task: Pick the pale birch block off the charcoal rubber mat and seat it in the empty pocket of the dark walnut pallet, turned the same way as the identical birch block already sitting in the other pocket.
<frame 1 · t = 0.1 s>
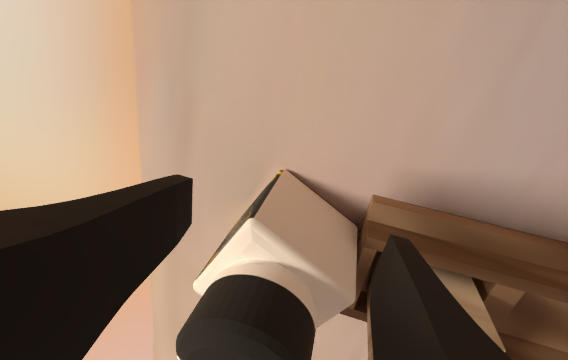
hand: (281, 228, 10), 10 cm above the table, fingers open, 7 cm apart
walnut pallet: (472, 283, 21), on the table
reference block: (413, 276, 20), resting on walnut pallet
medicine bottle: (293, 224, 23), on the table
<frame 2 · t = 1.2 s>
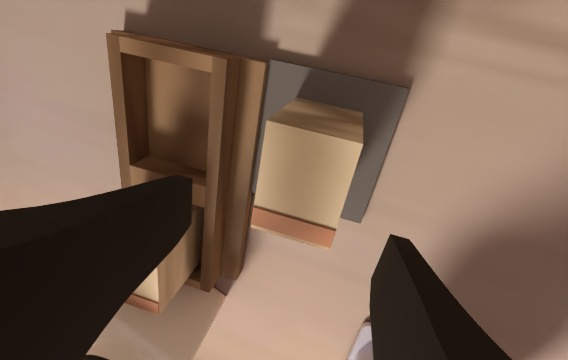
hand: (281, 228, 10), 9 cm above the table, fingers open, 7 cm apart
walnut pallet: (190, 169, 22), on the table
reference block: (182, 222, 23), resting on walnut pallet
charcoal mat: (319, 145, 18), on the table
birch block: (318, 148, 18), resting on charcoal mat
medicine bottle: (182, 289, 28), on the table
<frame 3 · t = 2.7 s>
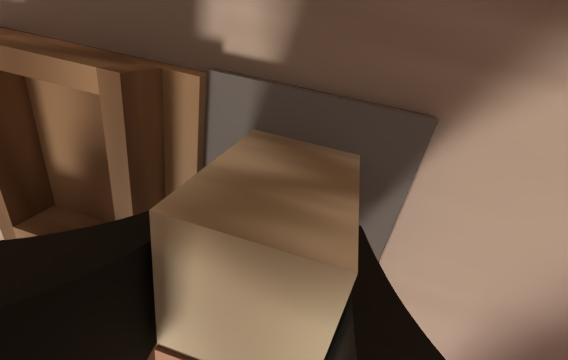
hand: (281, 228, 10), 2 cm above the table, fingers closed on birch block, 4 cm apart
walnut pallet: (118, 222, 15), on the table
charcoal mat: (294, 198, 12), on the table
birch block: (291, 204, 12), resting on charcoal mat, touching gripper
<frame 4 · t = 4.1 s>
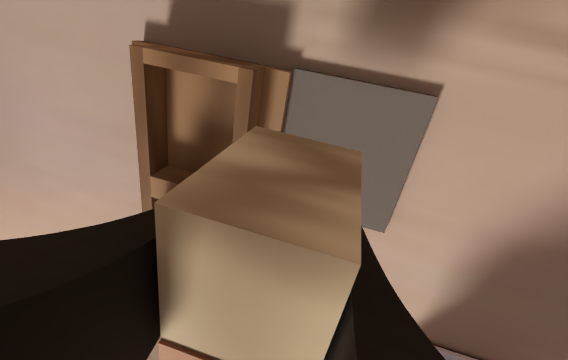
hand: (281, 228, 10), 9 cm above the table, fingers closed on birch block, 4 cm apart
walnut pallet: (209, 178, 21), on the table
charcoal mat: (342, 154, 18), on the table
birch block: (293, 201, 12), point 7 cm above the table, touching gripper
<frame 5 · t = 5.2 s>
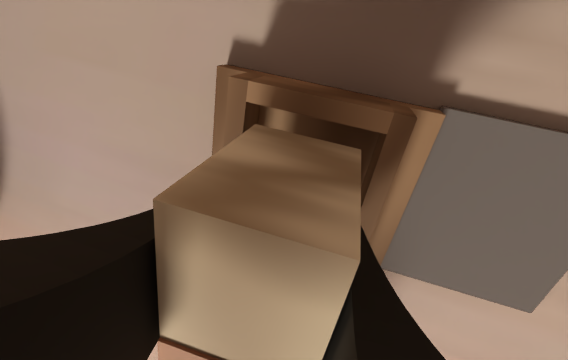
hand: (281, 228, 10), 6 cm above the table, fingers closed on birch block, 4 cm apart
walnut pallet: (293, 233, 17), on the table
charcoal mat: (488, 216, 14), on the table
birch block: (293, 199, 12), point 4 cm above the table, touching gripper
when the fingers open (4 cm above the table, at t = 5.9 s): birch block drops 1 cm, resting on walnut pallet.
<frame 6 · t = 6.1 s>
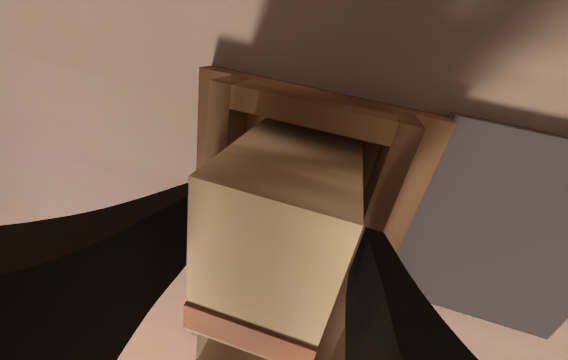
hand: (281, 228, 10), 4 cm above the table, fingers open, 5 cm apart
walnut pallet: (287, 249, 16), on the table
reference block: (270, 316, 17), resting on walnut pallet
charcoal mat: (501, 234, 12), on the table
birch block: (299, 187, 13), point 1 cm above the table, touching walnut pallet
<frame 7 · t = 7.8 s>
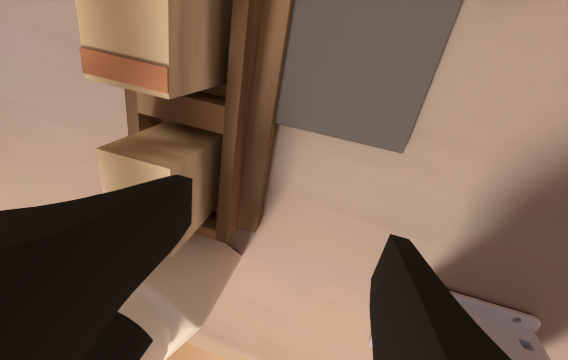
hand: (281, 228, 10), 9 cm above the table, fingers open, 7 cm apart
walnut pallet: (204, 101, 19), on the table
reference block: (195, 164, 20), resting on walnut pallet
charcoal mat: (357, 58, 16), on the table
birch block: (199, 25, 16), point 1 cm above the table, touching walnut pallet
medicine bottle: (192, 250, 26), on the table
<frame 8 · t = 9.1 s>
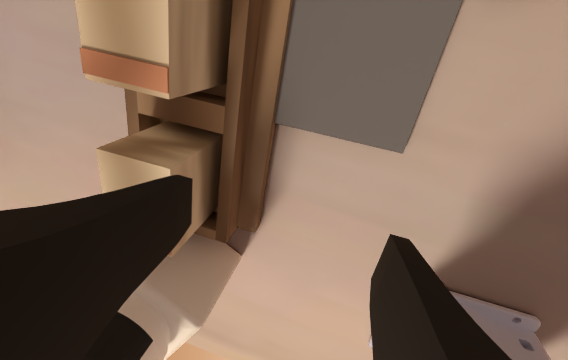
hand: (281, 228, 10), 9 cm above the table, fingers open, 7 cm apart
walnut pallet: (204, 101, 19), on the table
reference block: (195, 164, 20), resting on walnut pallet
charcoal mat: (357, 58, 16), on the table
birch block: (199, 25, 16), point 1 cm above the table, touching walnut pallet
medicine bottle: (192, 250, 26), on the table
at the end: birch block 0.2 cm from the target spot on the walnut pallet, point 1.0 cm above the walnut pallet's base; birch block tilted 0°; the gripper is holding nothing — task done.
